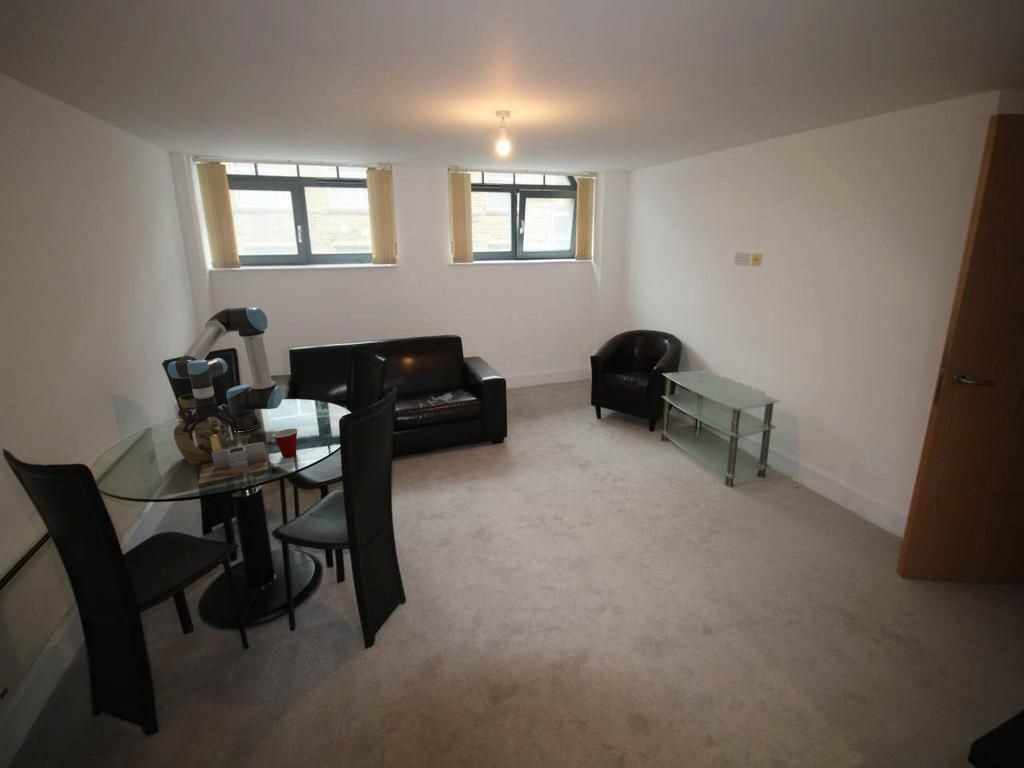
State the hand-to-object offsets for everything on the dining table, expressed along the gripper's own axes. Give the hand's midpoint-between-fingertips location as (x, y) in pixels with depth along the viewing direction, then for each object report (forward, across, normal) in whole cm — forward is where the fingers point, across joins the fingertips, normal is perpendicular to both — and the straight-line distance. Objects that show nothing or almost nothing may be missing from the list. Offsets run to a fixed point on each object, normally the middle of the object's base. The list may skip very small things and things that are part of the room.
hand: (214, 442), depth 213 cm
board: (+12, +6, -6) cm, 15 cm away
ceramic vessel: (+12, -7, +16) cm, 21 cm away
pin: (+11, 0, 0) cm, 11 cm away
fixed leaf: (+11, +12, -7) cm, 17 cm away
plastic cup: (+12, +28, -3) cm, 31 cm away
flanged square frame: (+11, +5, -7) cm, 13 cm away
